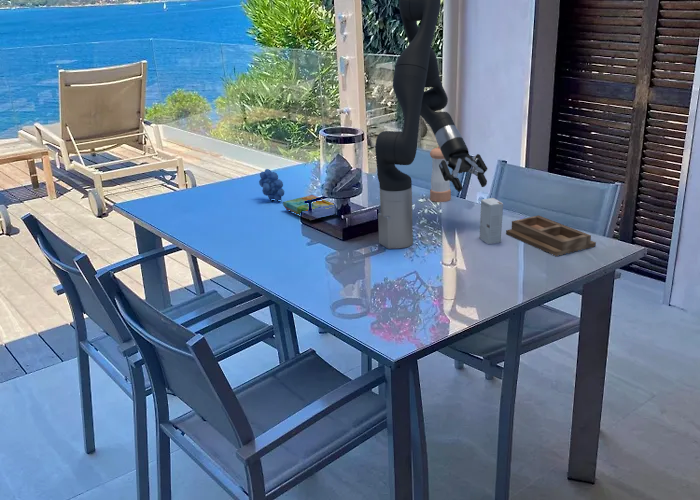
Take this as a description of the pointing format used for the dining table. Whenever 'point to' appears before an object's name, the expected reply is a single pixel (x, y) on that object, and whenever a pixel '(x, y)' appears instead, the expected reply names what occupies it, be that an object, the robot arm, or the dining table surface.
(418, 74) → the robot arm
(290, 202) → the puzzle game
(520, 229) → the rack
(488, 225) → the skincare box
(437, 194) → the salt shaker
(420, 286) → the dining table surface
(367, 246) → the dining table surface
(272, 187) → the grapes
